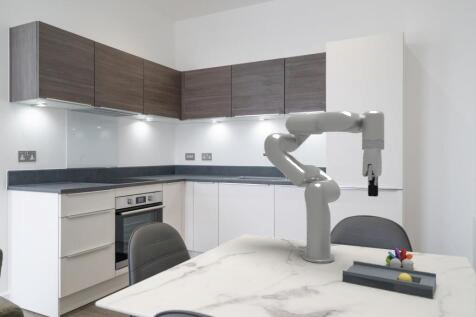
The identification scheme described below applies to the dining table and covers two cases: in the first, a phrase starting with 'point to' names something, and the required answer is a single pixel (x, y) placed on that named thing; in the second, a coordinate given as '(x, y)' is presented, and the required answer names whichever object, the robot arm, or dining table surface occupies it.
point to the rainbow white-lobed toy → (400, 259)
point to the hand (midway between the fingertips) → (373, 196)
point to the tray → (391, 279)
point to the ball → (405, 277)
